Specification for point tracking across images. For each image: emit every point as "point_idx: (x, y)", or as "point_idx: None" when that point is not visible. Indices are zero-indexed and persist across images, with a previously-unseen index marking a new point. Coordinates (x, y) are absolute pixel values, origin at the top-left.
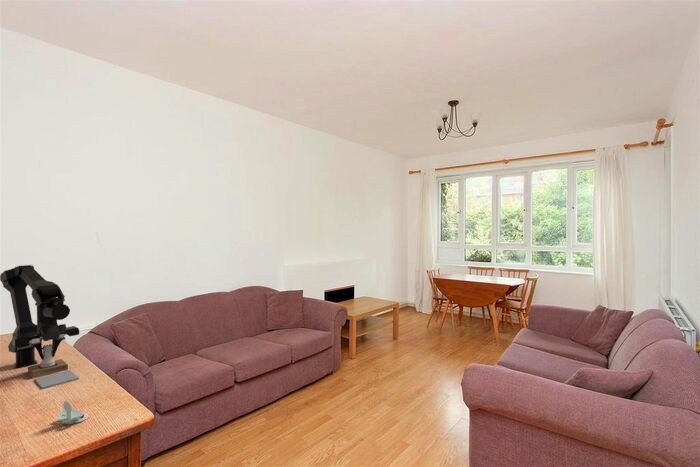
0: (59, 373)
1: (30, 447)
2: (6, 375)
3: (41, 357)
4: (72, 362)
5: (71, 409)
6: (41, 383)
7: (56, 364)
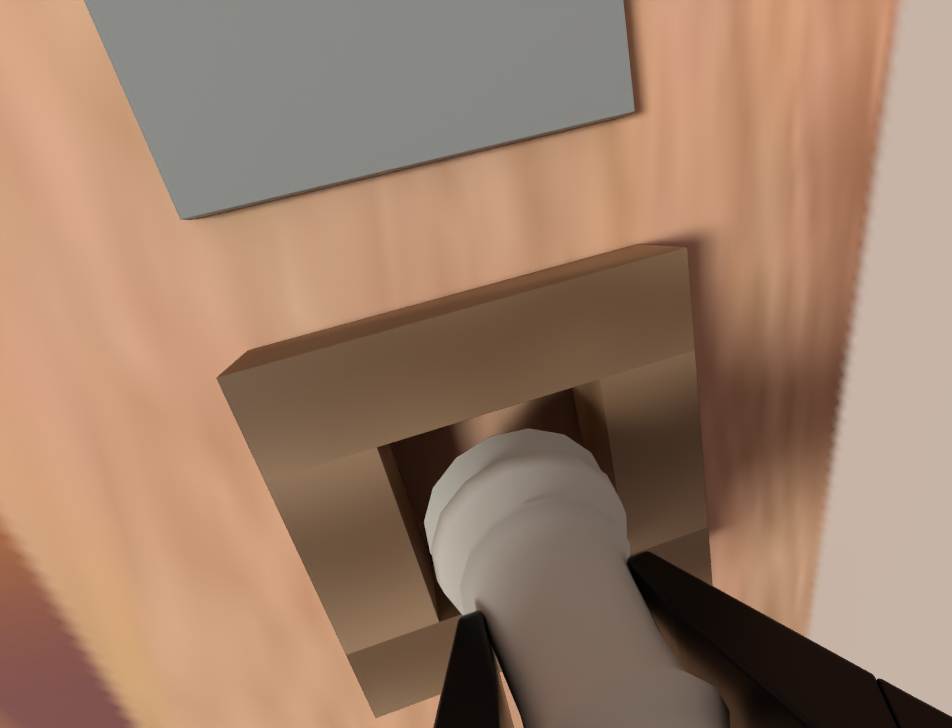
0: (327, 132)
1: None
2: (814, 544)
3: (683, 575)
4: (251, 648)
5: None
6: None
7: (413, 538)
